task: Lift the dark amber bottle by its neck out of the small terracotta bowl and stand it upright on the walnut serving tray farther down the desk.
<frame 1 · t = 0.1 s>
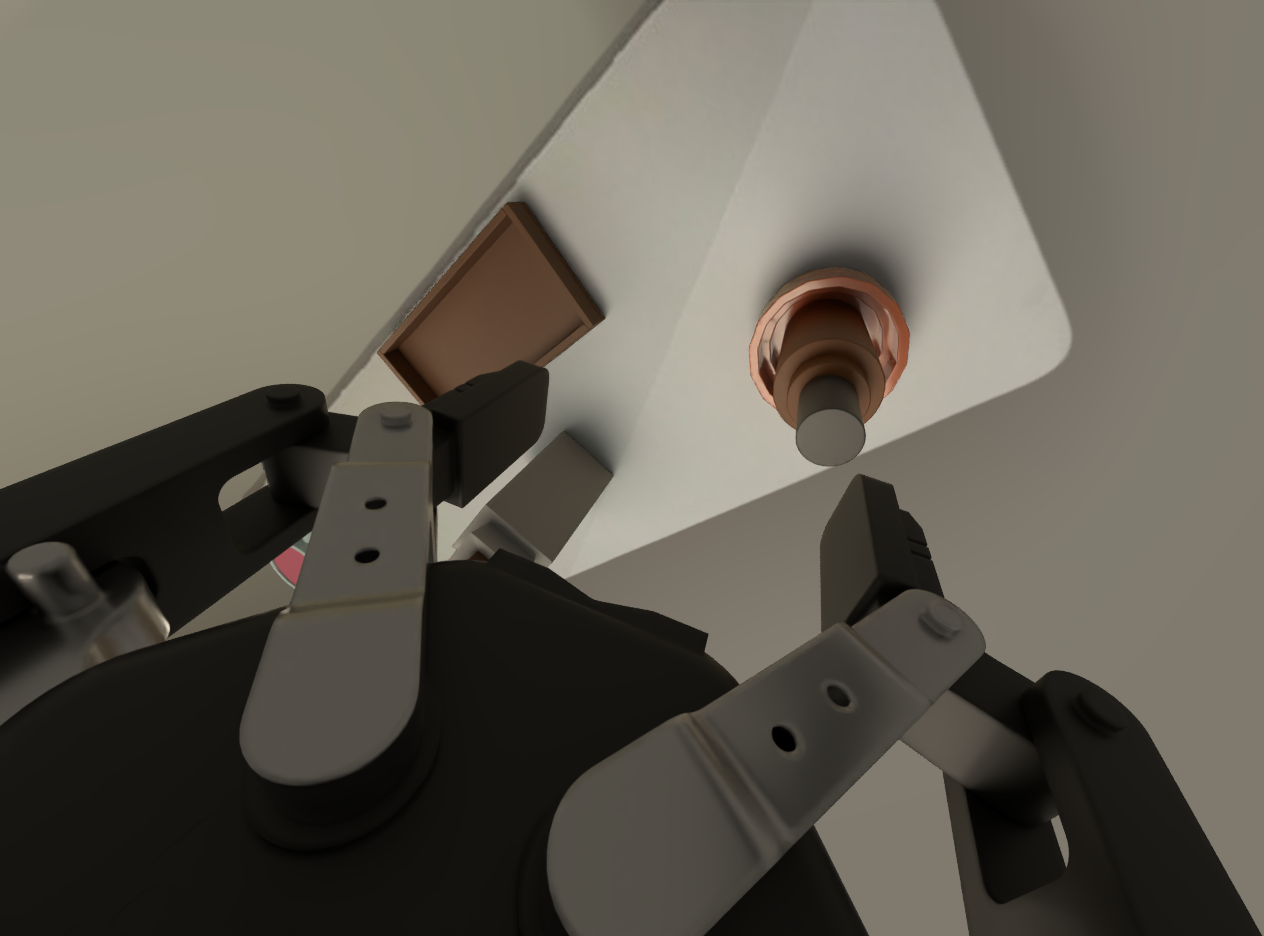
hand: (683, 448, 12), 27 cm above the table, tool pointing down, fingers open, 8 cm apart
tray: (490, 333, 44), on the table
mug: (364, 512, 64), on the table
bottle: (823, 338, 34), point 1 cm above the table, touching bowl
perfume bottle: (572, 471, 49), on the table
bowl: (823, 336, 35), on the table
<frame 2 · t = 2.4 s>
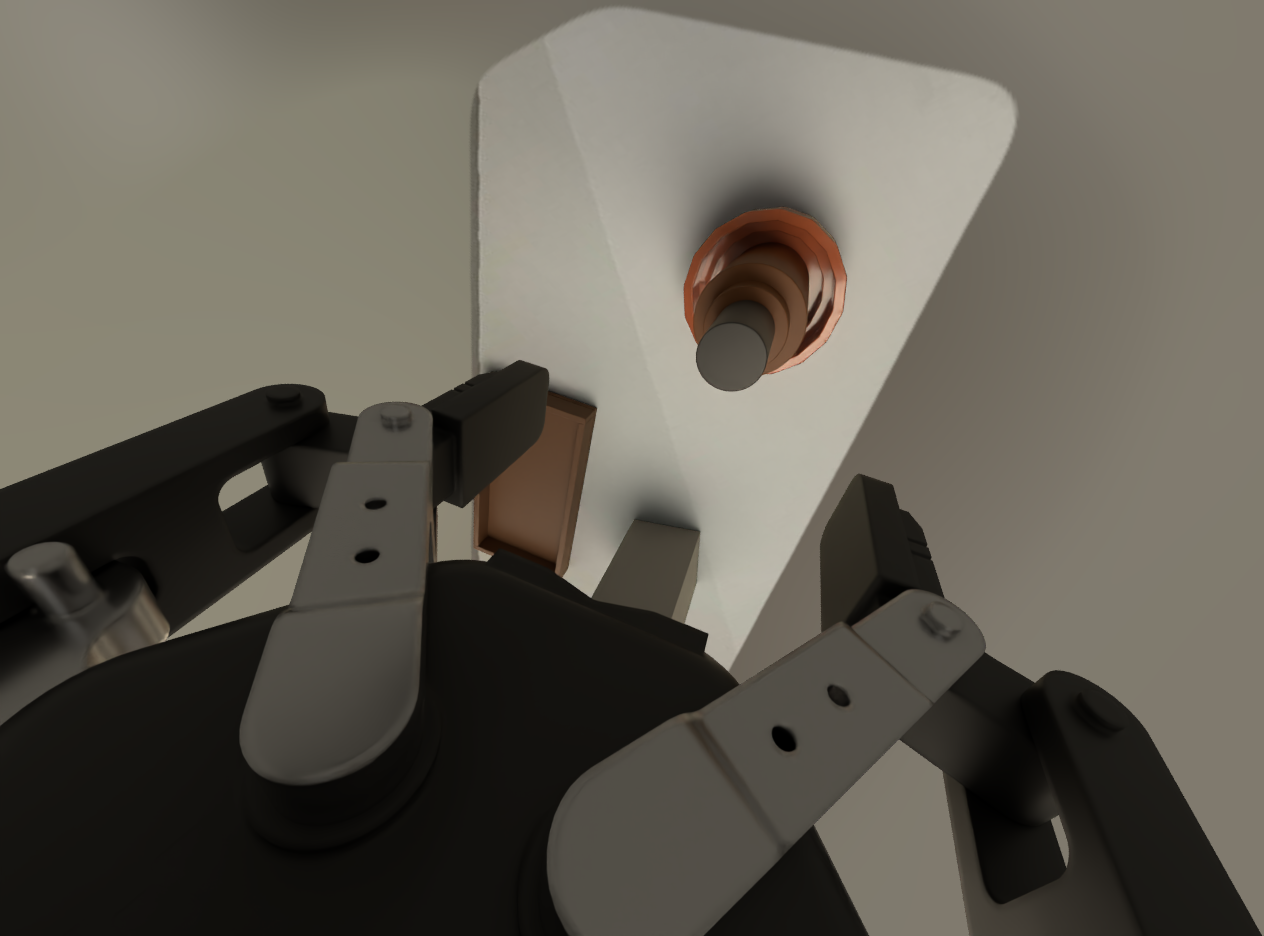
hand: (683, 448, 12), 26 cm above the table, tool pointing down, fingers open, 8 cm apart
tray: (534, 480, 49), on the table
bottle: (766, 286, 32), point 1 cm above the table, touching bowl
perfume bottle: (666, 550, 48), on the table
bowl: (766, 285, 33), on the table
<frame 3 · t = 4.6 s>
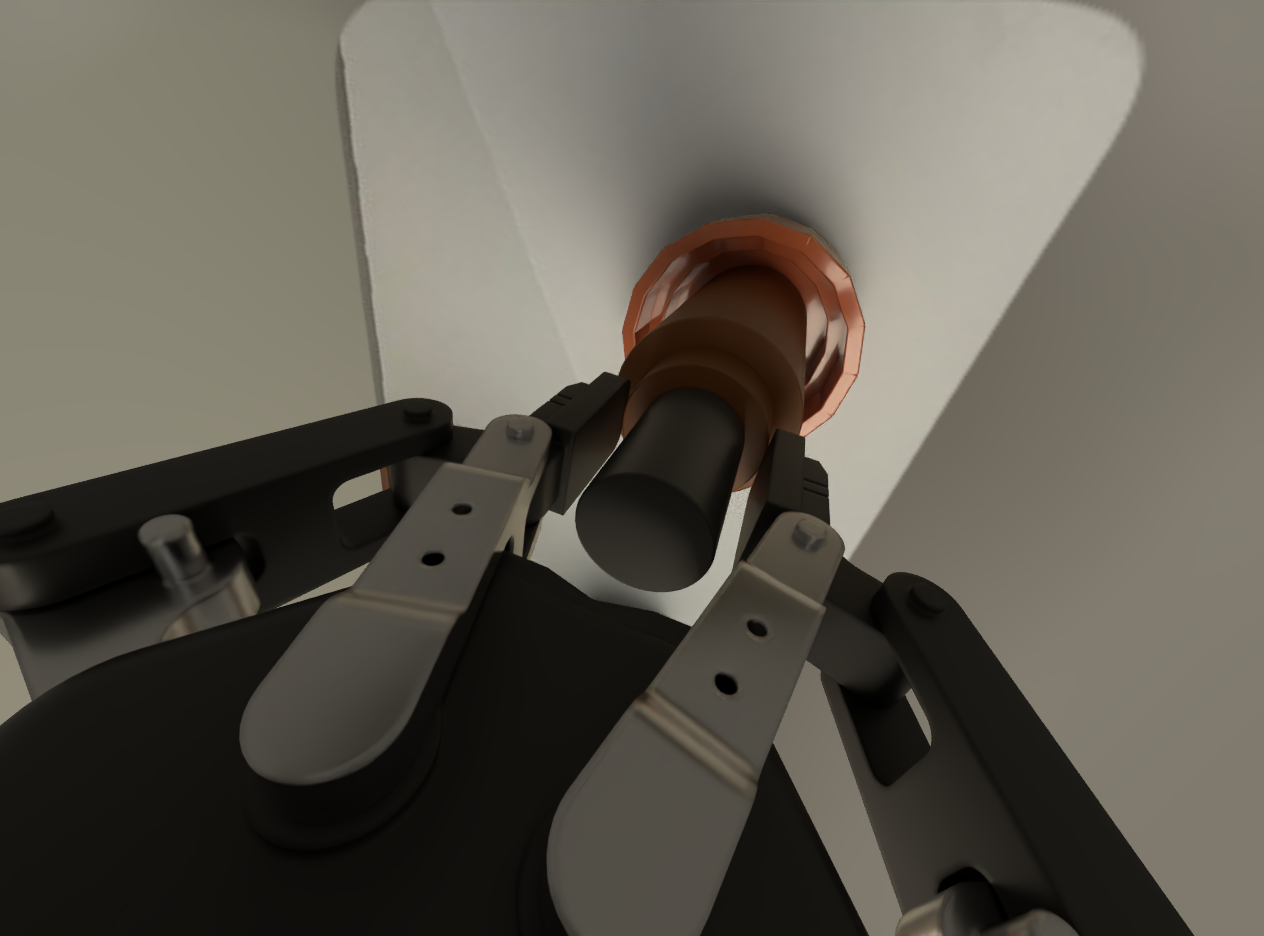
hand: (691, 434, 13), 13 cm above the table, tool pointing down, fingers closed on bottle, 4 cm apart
bottle: (745, 326, 23), point 1 cm above the table, touching bowl, gripper
bowl: (747, 323, 23), on the table
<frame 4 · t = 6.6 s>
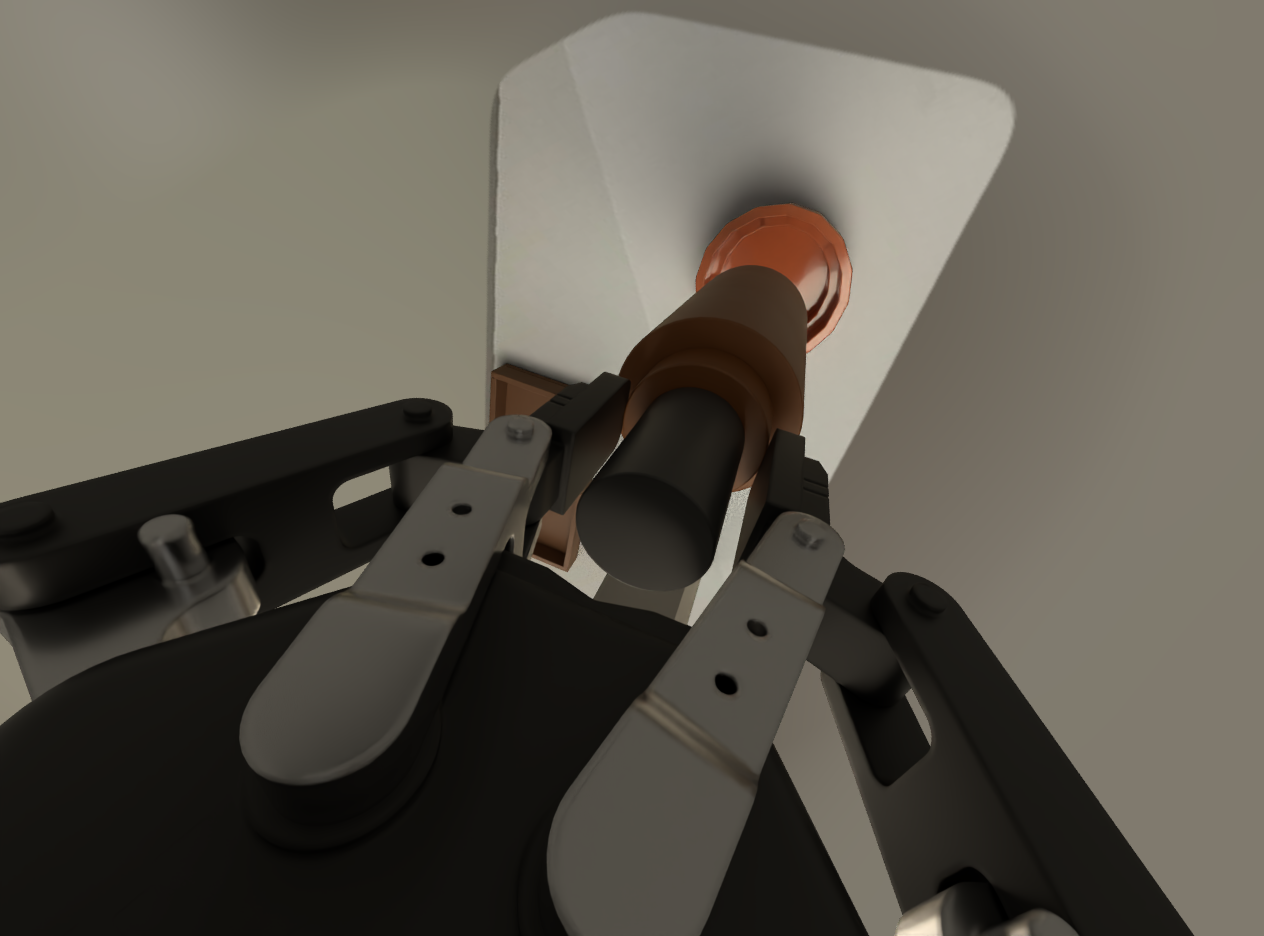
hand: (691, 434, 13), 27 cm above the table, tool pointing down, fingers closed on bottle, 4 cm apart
tray: (545, 470, 50), on the table
bottle: (746, 326, 23), point 14 cm above the table, touching gripper
perfume bottle: (673, 539, 49), on the table
bowl: (774, 279, 34), on the table
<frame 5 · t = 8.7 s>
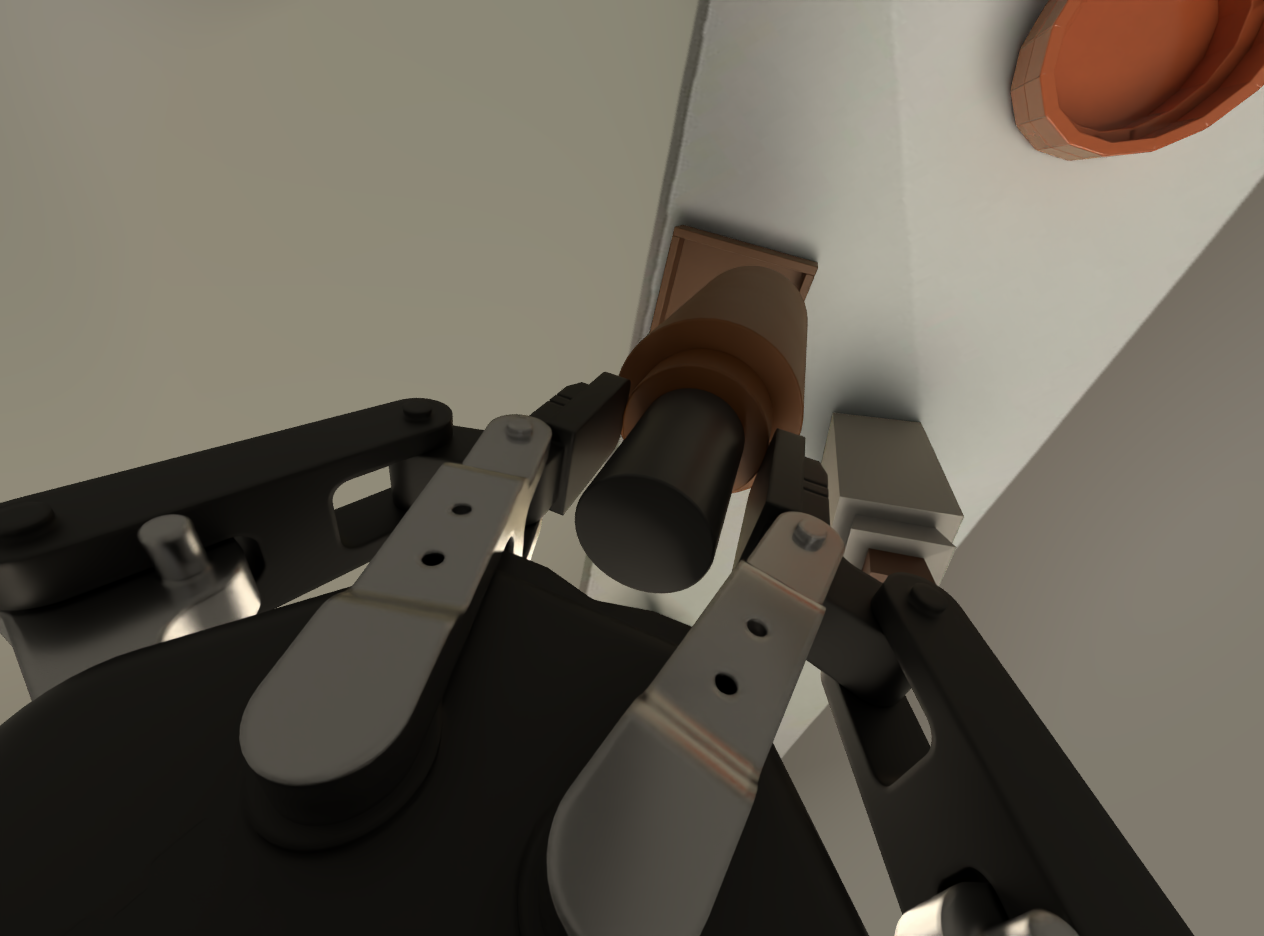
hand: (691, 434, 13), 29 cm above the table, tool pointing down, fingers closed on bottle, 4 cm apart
tray: (707, 369, 42), on the table
bottle: (746, 327, 23), point 17 cm above the table, touching gripper
perfume bottle: (865, 451, 41), on the table
bowl: (1116, 55, 26), on the table
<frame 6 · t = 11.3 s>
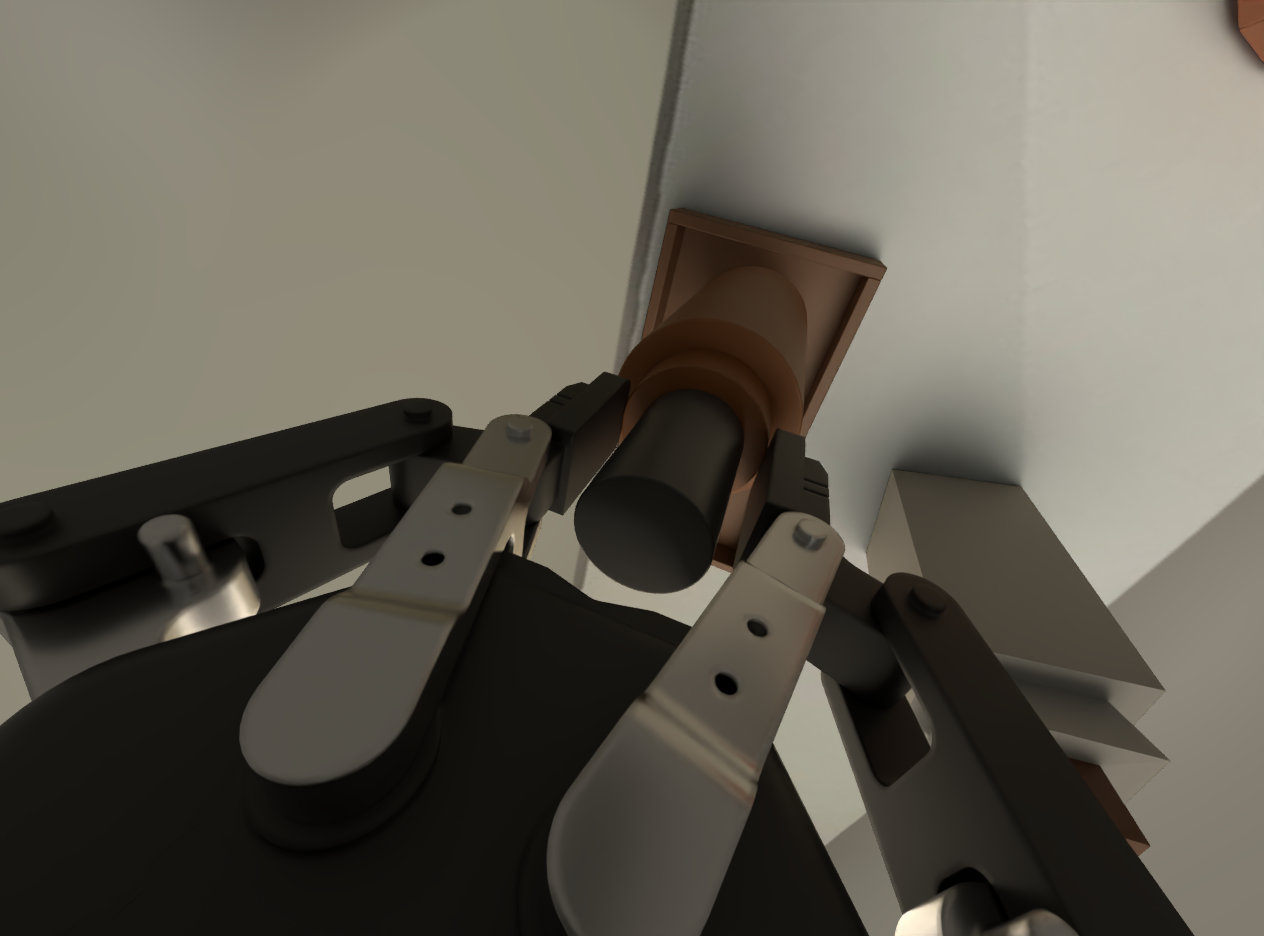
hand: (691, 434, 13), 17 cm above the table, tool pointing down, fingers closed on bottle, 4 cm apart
tray: (717, 408, 31), on the table
bottle: (746, 327, 23), point 5 cm above the table, touching gripper
perfume bottle: (936, 521, 30), on the table
when the fingers open (13 cm above the table, at t = 12.8 s): bottle stays where it is, resting on tray.
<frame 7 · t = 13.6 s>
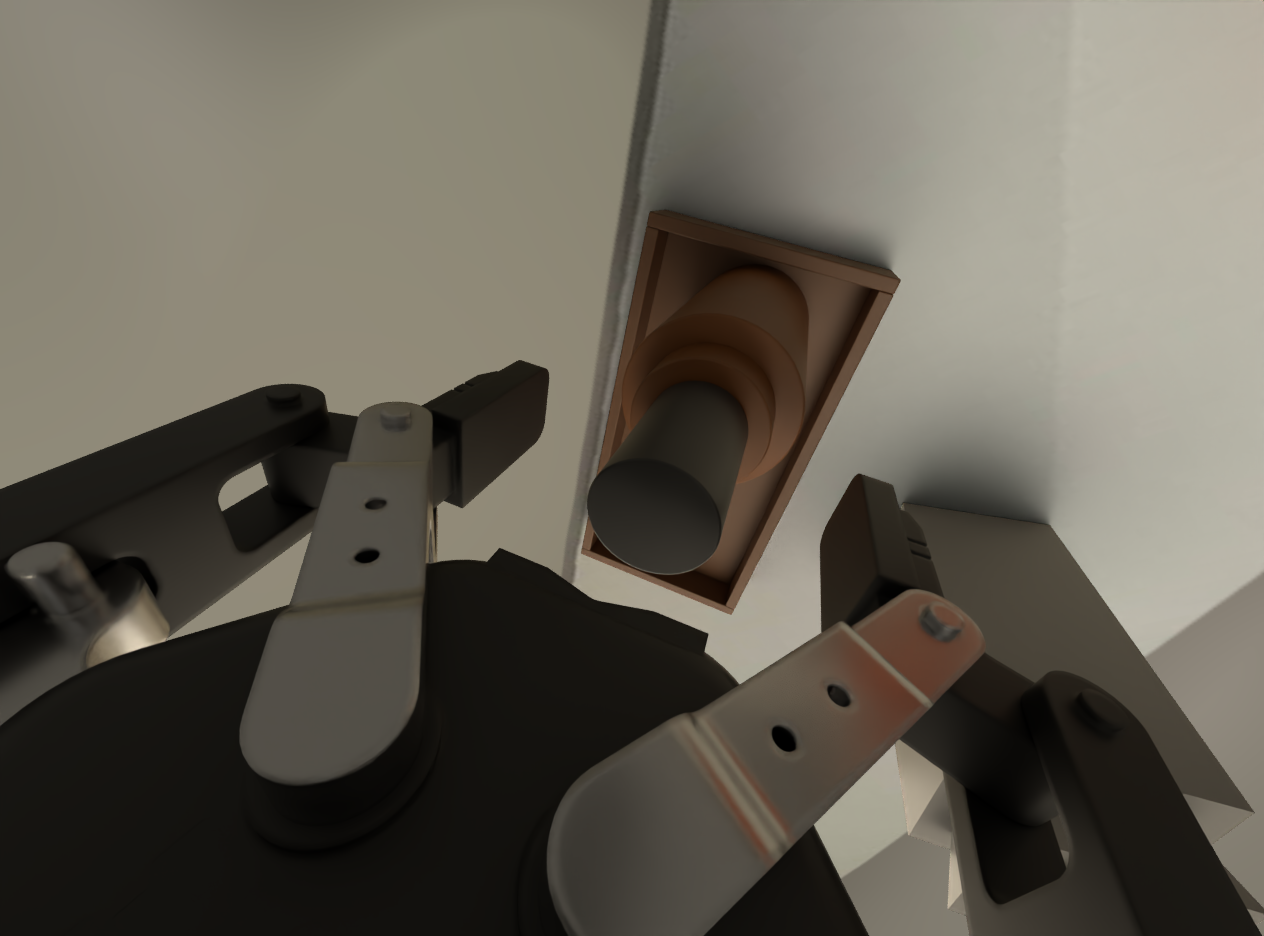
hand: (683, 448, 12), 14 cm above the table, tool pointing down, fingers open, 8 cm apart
tray: (707, 433, 27), on the table
bottle: (748, 324, 23), point 1 cm above the table, touching tray
perfume bottle: (951, 559, 27), on the table
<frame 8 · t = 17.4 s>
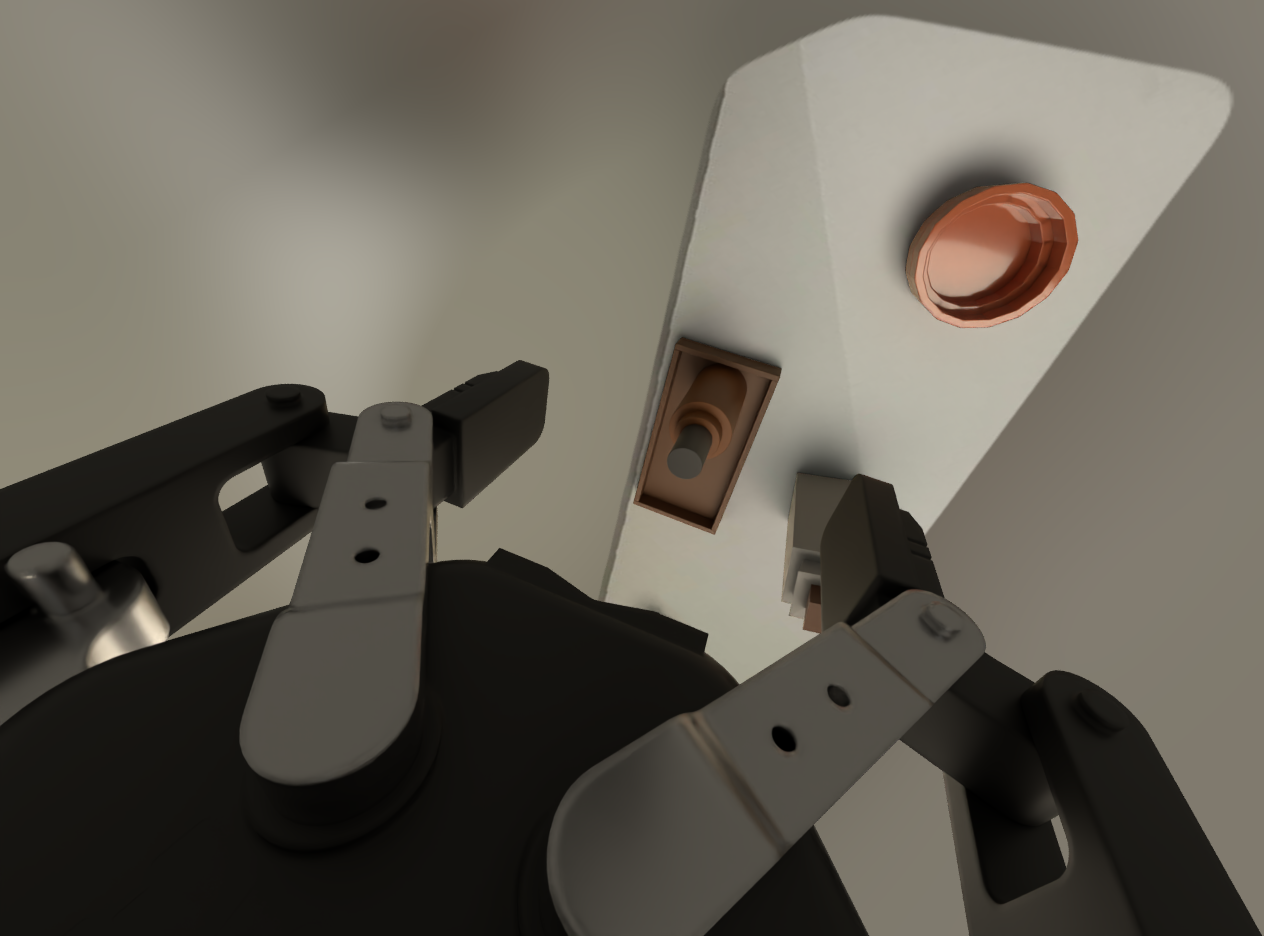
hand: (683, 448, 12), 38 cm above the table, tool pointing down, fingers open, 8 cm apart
tray: (701, 438, 54), on the table
bottle: (720, 388, 50), point 1 cm above the table, touching tray
perfume bottle: (823, 501, 53), on the table
bowl: (972, 253, 38), on the table
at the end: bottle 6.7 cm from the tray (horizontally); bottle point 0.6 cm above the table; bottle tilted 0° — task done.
